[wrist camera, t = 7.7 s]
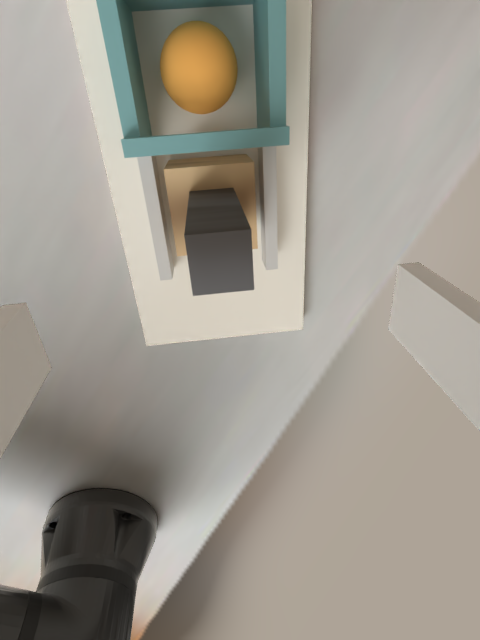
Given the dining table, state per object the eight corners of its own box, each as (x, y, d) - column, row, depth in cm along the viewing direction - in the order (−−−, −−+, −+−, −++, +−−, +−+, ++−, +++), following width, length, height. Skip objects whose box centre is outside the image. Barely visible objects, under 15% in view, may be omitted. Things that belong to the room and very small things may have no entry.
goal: (270, 137, 28) (289, 144, 22) (140, 147, 28) (124, 158, 22) (267, -17, 24) (290, -59, 18) (112, -8, 23) (82, -48, 17)
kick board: (299, 322, 39) (309, 342, 36) (148, 338, 38) (143, 360, 35) (306, -13, 25) (323, -32, 22) (71, 1, 25) (50, -17, 21)
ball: (232, 3, 23) (234, 86, 27) (152, 7, 23) (166, 91, 27) (241, 42, 21) (241, 127, 25) (152, 48, 20) (168, 132, 25)
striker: (249, 229, 32) (284, 313, 19) (180, 235, 31) (166, 325, 18) (246, 153, 29) (284, 191, 16) (168, 160, 28) (143, 203, 15)
